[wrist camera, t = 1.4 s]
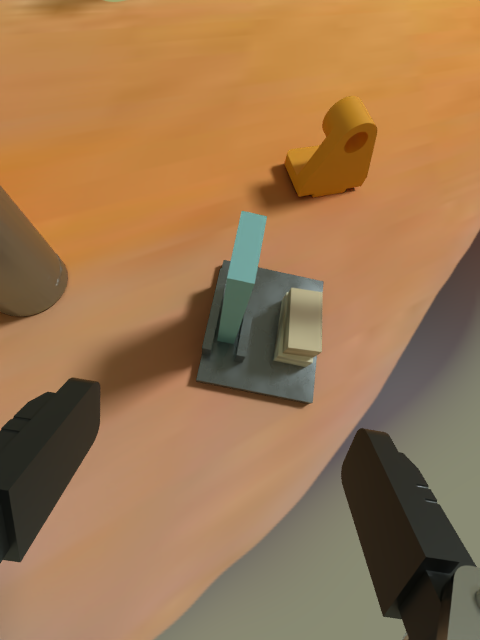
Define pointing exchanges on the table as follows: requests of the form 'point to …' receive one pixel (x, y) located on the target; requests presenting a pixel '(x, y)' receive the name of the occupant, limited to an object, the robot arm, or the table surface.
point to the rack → (256, 342)
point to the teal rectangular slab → (241, 274)
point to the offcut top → (303, 323)
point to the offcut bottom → (278, 353)
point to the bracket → (335, 152)
